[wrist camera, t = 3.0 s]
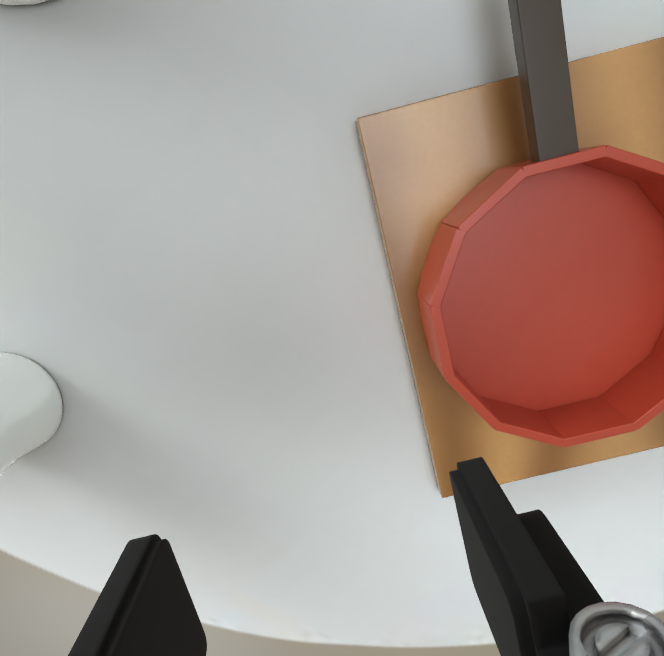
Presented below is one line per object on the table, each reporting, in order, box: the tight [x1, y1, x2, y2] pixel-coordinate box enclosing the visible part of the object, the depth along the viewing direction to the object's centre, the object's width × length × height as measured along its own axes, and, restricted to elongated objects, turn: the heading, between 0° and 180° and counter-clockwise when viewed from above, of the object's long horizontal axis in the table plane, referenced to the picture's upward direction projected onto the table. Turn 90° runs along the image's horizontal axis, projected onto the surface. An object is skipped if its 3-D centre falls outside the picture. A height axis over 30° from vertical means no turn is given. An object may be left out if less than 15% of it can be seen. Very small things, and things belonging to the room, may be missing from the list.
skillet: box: [417, 0, 664, 447], centre depth 26 cm, size 14×23×4 cm, turn 14°
